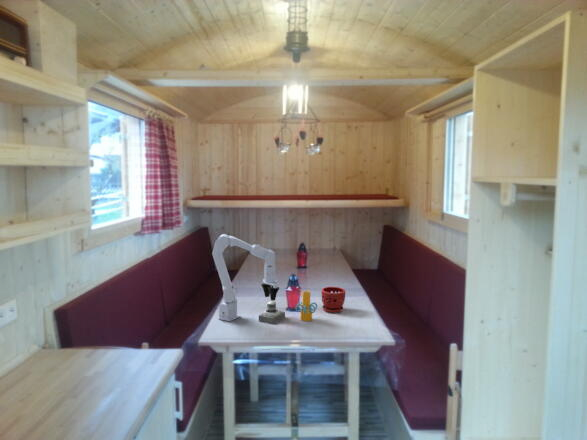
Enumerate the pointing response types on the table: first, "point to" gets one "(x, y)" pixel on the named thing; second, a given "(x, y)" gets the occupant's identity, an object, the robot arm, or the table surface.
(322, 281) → the table surface
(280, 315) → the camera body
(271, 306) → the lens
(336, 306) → the plant pot
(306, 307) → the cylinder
